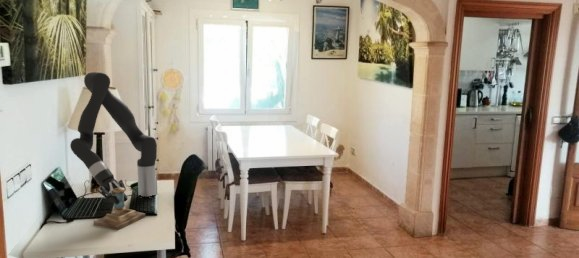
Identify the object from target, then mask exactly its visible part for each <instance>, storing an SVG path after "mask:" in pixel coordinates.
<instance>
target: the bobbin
mask: <svg viewBox="0 0 579 258" xmlns="http://www.w3.org/2000/svg"><path fill="white" fill-rule="evenodd" d="M125 188H126V187H125ZM125 188H115V189H113V192H114V194H115V196H116V197H117V198H118V200H119V201H120V203H119V204H117V205H116V204H115V203H114V202H113V208H112V211H113V213H114V212H122V211H125V210H126V209H127V208H126V207H125V202H124V193H125V191H126V190H125Z"/></svg>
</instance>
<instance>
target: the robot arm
mask: <svg viewBox="0 0 579 258" xmlns="http://www.w3.org/2000/svg"><path fill="white" fill-rule="evenodd" d="M83 82H84V86H85V87H86V88H87V90H88V91H89V92H90V93H91V96H90V99H89V100H88V103H87V104H86V106H85V107H84V109H83V110H82V113H81V115H80V118H79V122H78V125H77V132H78V133H79V137H77V138H73V139H72V140H71V142H70V150H71V151H72V152H73V154H74V155H75V156H76V157H77V158H78V159H79V160H80V161H81V162H82V163H83V164H84V165H85V167H86V168H87V169H88V171H89V173H90V175H91V176H92V177H93V179H94V180H95V181H96V183H97V184H98V185H99V186H100V187H98V189H97V192H98V193H99V194H100V195H102V197H104V198H105V199H107V200H108V199H111V201H112V202H113V204H114V203H115V204H116V205H117V204H119V203H120V201H119V200H118V198H117V197H116V196H115V194H114V192H113V189H115V188H125V191H127V188H126V186H125V184H124V181H123V180H122V179H120V180H117V179H115V176H114V174H113V173H112V171H111V170H110V169H109V167H108V166H107V164H105V162H103V161H104V160H102V159H101V157H100V156H99V155H98V153H96V152H94V151H93V150H92V149H93V145H94V130H95V126H96V123H97V119H98V116H99V112H100V110H101V107H104V109H105V110H106V111H107V112H108V114H109V115H110V117H111V118H112V119H113V121H114V122H115V123H116V124H117V125H118V127H119V128H120V129H121V131H123V133H125V135H126V136H127V138H128V139H129V141H130V143H131V144H132V146H133V148H134V149H135V150H137V151H138V152H140V158H138V159H137V161H136V162H137V164H136V165H137V188H138V189H137V191H138V196H139V195H141V196H152V195H156V196H157V195H158V177H157V176H156V175H157V174H156V173H157V172H156V160H157V151H158V148H157V147H158V146H157V145H158V144H157V140H156V139H155V137H153V136H152V135H151V136H150V135H147V134H144V132H143V131H142V130H141V129H140V128H139V126H138V125H137V123H136V119H135V118H136V117H135V115H134V114H133V112H132V110H130V108H129V107H128V105H127V104H125V102H123V101H122V100H121V98H118V96H116V95H114V94H113V93H112V91H110V89H109V88H110V85H111V79H110V77H109V76H108V74H107V73H105V72H97V71H94V72H88V73H87V74H85V76H84V79H83ZM128 198H129V197H128V196H127V195H126V193H125V192H124V203H125V202H126V201H128V200H129V199H128Z"/></svg>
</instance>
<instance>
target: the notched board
mask: <svg viewBox="0 0 579 258" xmlns="http://www.w3.org/2000/svg"><path fill="white" fill-rule="evenodd" d="M145 217H146V213H144V212H140V211H136V210H134V209H129V208H126V210H125V211H122V212H114V211H113V212H112V213H106V214H105V216H103V217H101V218H99V219H96V220H93V226H98V227H104V228H108V229H112V230H117V231H118V230H120V229H123V228H124V227H127V226H129V225H131V224H133V223H135V222H136V221H138V220H141V219H143V218H145Z"/></svg>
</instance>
